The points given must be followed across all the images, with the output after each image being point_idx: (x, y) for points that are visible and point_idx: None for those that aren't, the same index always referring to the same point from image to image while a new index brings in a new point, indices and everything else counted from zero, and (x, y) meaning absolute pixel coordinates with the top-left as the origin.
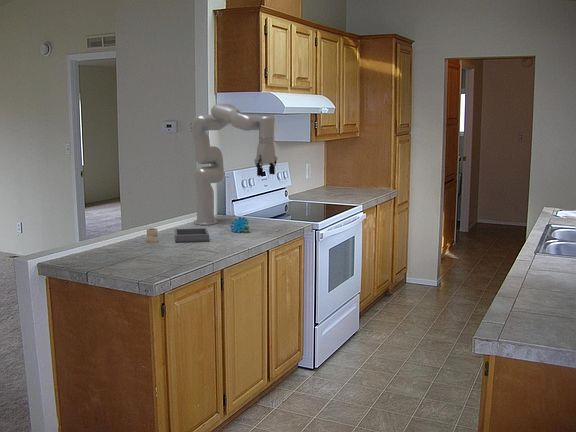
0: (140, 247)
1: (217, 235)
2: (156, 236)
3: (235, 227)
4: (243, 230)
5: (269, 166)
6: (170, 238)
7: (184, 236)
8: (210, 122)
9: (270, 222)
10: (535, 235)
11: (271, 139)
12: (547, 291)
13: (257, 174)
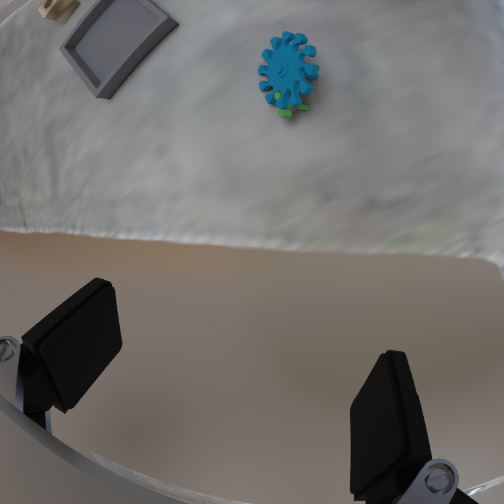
0: (29, 46)
1: (189, 53)
2: (54, 19)
3: (271, 63)
4: (270, 102)
5: (407, 454)
6: None
7: (69, 60)
8: None
9: (496, 120)
10: None
11: None
12: (199, 500)
13: (91, 287)
